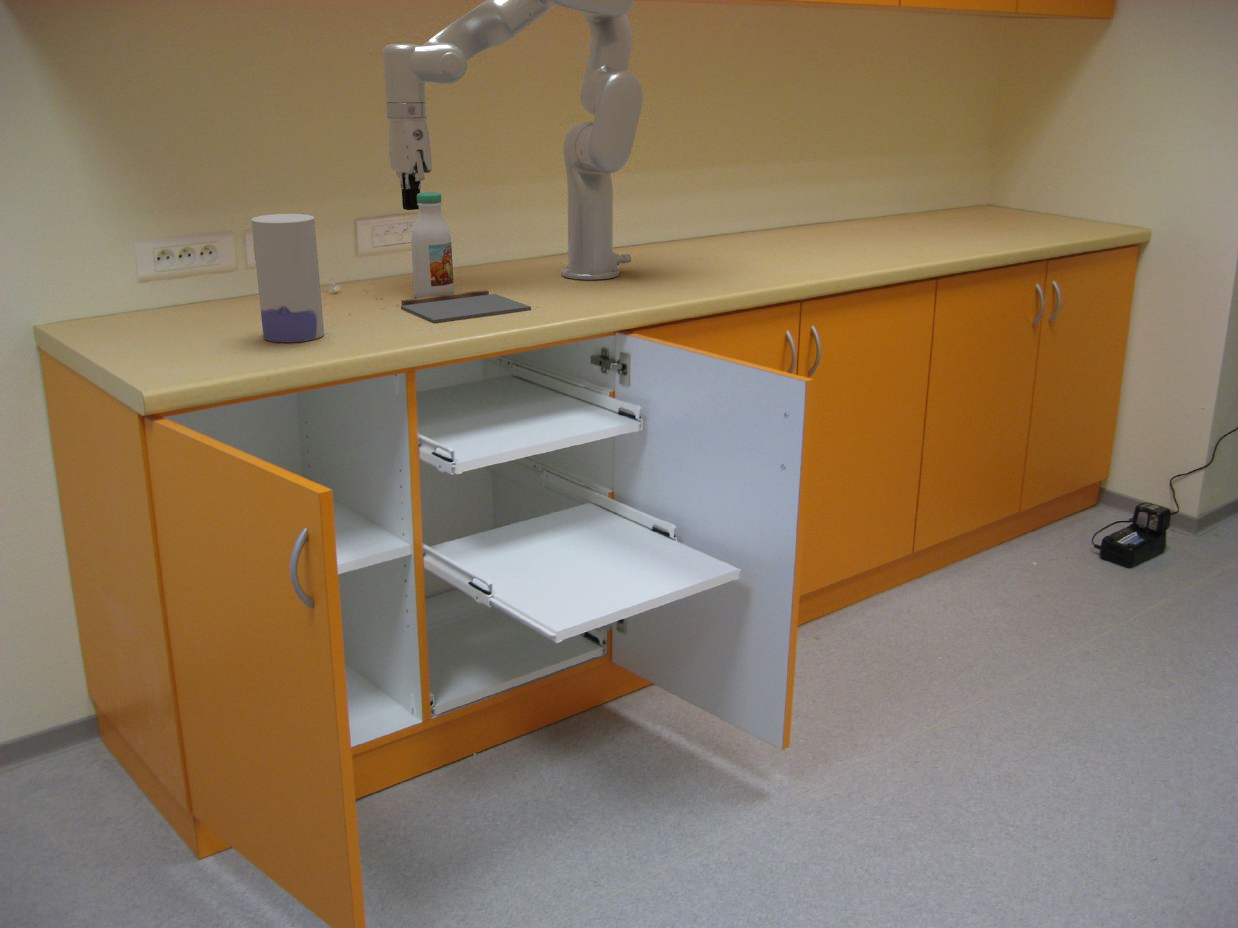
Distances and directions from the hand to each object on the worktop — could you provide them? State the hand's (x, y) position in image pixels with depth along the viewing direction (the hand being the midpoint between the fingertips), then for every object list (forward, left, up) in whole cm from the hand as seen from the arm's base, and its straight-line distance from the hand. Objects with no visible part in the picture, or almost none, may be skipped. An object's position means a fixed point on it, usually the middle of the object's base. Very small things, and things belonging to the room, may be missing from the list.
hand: (411, 209), depth 227 cm
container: (+34, +24, -16) cm, 45 cm away
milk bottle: (0, +8, -16) cm, 18 cm away
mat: (0, +22, -16) cm, 27 cm away
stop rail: (0, +13, -16) cm, 21 cm away
